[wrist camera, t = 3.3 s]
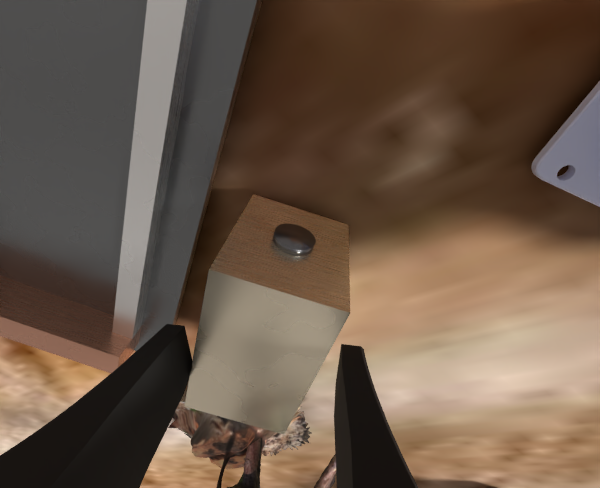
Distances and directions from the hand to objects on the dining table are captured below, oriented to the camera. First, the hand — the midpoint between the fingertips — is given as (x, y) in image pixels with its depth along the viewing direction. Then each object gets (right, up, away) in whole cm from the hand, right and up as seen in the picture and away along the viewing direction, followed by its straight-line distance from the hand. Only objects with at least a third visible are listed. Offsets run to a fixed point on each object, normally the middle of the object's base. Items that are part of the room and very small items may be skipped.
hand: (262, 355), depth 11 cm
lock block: (0, +2, +4) cm, 5 cm away
